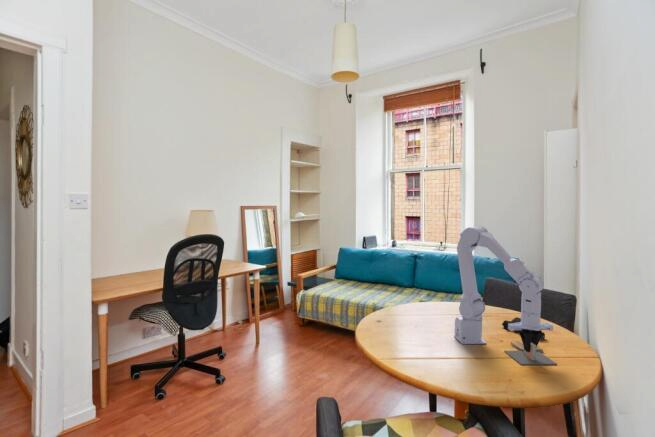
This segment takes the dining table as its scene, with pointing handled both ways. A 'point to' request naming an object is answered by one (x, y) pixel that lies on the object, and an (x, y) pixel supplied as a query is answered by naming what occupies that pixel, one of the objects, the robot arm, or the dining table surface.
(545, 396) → the dining table surface
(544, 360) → the mat
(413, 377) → the dining table surface
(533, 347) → the tile
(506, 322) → the handgun
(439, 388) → the dining table surface
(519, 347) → the tile rack
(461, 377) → the dining table surface
